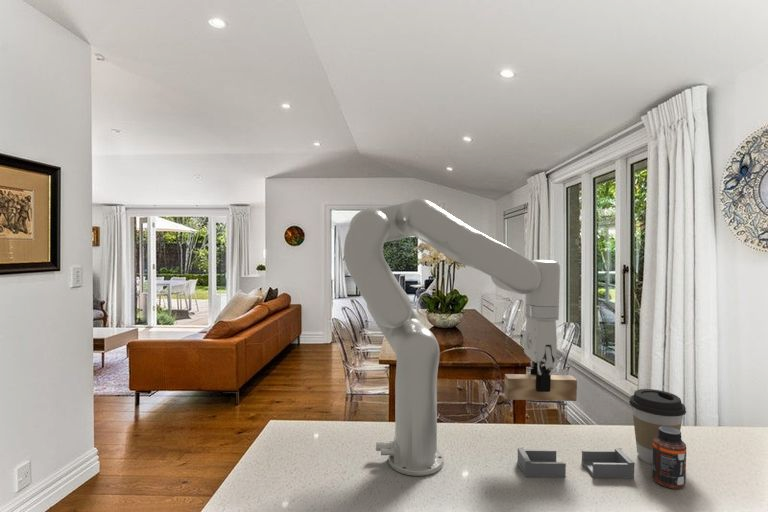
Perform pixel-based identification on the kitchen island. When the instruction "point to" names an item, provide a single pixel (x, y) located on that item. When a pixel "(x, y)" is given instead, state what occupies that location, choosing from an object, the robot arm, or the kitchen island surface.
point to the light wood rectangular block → (526, 390)
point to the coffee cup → (654, 417)
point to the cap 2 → (608, 463)
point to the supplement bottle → (669, 458)
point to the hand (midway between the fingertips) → (540, 387)
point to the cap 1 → (540, 463)
